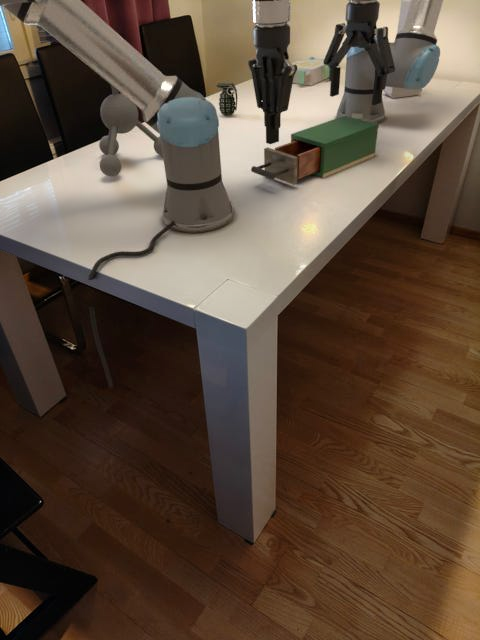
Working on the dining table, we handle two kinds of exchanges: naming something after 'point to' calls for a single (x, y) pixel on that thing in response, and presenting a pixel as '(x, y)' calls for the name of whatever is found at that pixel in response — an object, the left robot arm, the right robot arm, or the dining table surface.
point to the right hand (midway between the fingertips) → (354, 99)
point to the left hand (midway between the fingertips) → (272, 142)
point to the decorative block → (310, 71)
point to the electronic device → (404, 9)
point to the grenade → (227, 99)
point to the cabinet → (341, 142)
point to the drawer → (290, 161)
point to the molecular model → (119, 130)
